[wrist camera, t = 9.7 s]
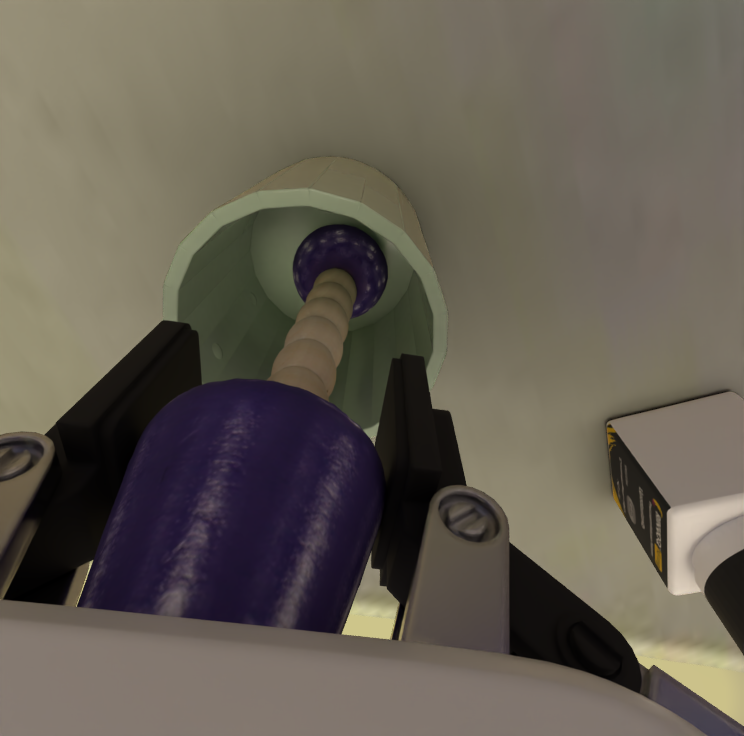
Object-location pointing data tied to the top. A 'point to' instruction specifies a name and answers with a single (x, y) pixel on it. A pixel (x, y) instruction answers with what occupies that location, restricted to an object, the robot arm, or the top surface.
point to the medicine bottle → (687, 497)
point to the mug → (278, 291)
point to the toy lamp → (257, 476)
